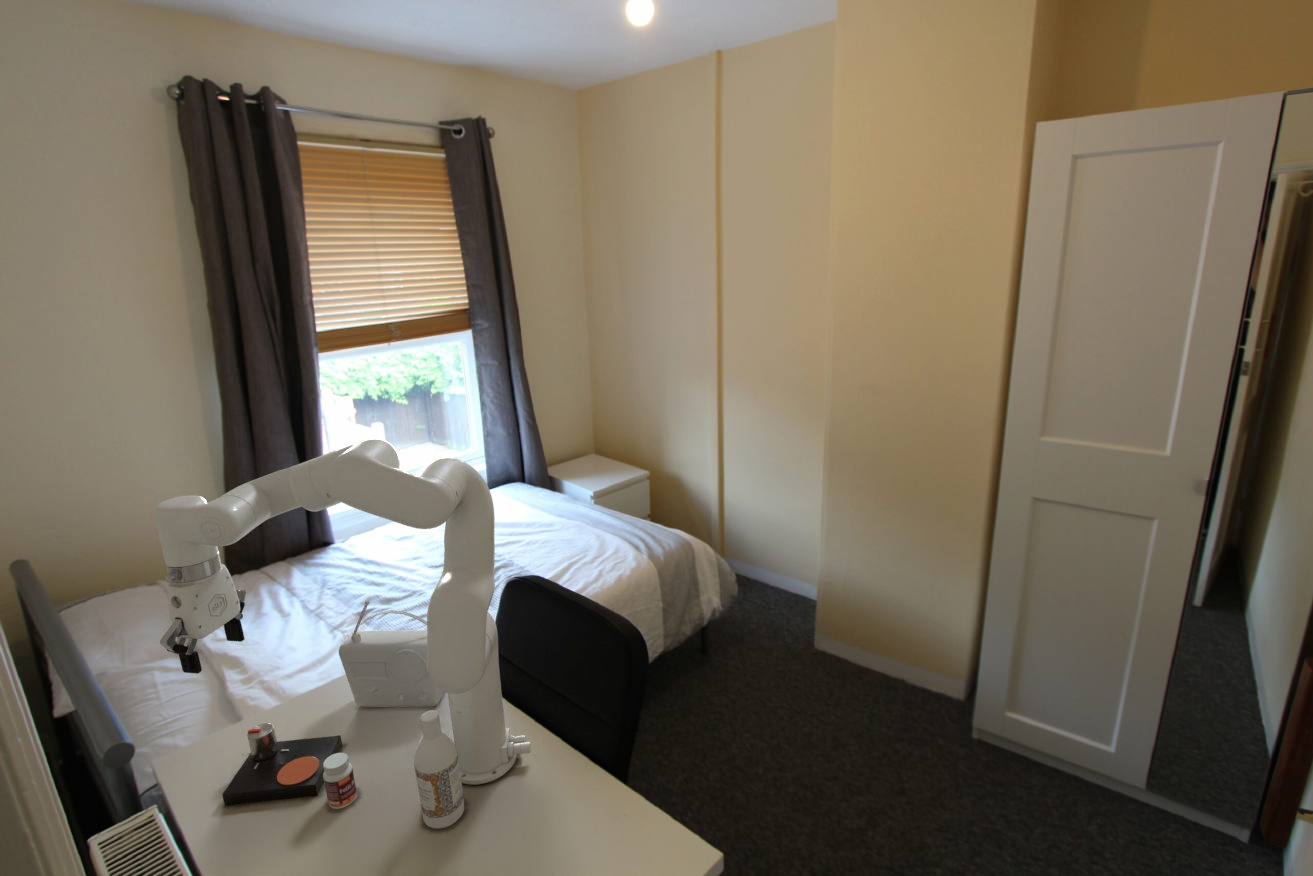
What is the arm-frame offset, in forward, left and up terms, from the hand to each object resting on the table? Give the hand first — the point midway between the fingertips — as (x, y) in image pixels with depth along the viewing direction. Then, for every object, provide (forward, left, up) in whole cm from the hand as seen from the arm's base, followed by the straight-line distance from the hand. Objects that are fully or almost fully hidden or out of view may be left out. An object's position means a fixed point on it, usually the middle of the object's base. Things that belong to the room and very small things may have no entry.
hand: (215, 655), depth 117 cm
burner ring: (-11, +2, -24) cm, 27 cm away
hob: (-7, 0, -27) cm, 28 cm away
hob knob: (-2, -4, -24) cm, 25 cm away
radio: (-24, -20, -27) cm, 41 cm away
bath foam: (-39, +14, -27) cm, 50 cm away
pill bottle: (-20, +8, -27) cm, 35 cm away
